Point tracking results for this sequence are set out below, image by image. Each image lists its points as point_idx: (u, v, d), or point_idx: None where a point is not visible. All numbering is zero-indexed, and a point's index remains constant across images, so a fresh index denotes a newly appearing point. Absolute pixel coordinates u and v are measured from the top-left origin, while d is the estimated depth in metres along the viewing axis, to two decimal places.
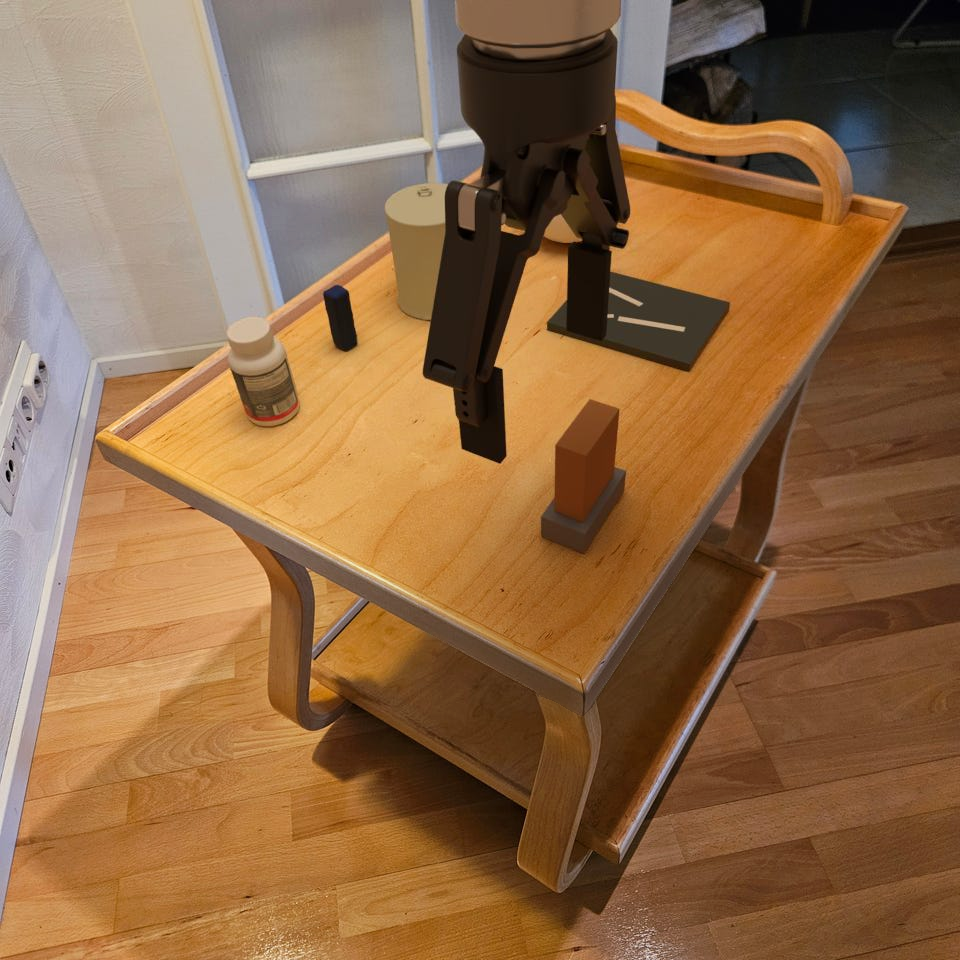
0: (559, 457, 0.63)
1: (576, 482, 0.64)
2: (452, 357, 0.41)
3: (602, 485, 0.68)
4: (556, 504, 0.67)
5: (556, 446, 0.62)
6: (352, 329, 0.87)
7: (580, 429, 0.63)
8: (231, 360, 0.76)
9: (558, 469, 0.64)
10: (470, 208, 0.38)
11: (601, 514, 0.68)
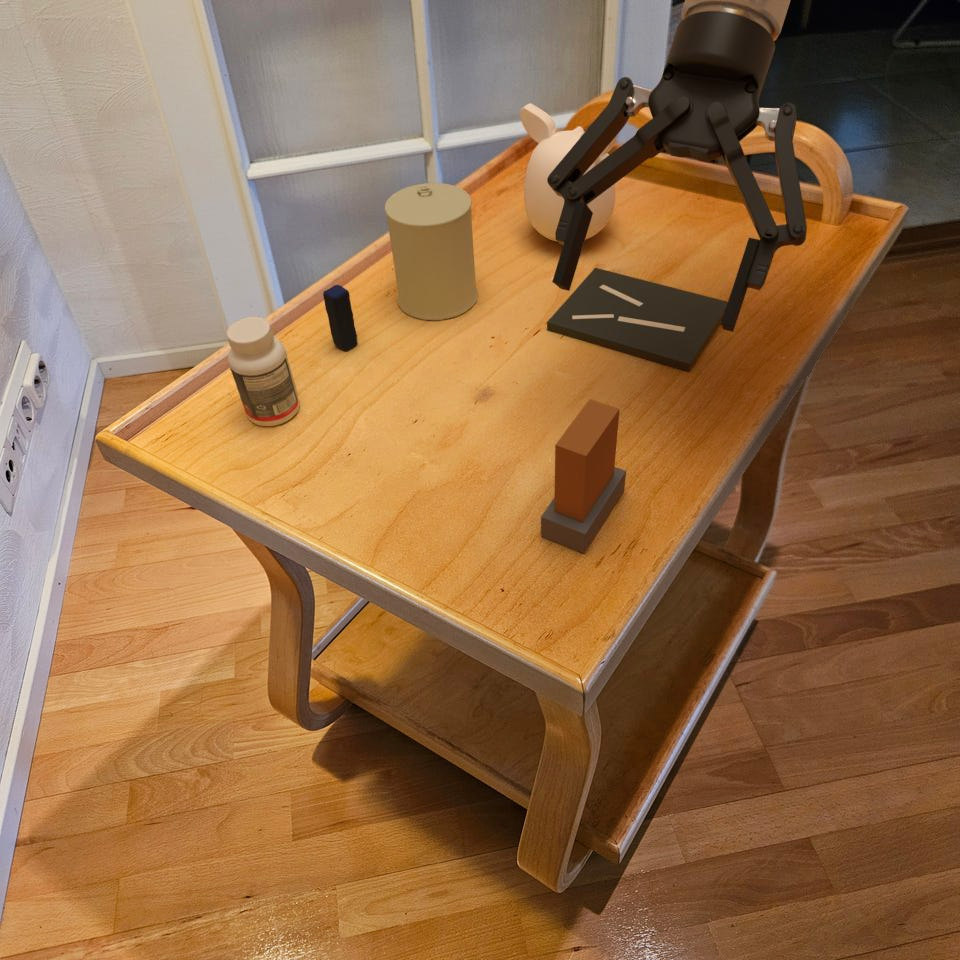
0: (559, 457, 0.63)
1: (576, 482, 0.64)
2: None
3: (602, 485, 0.68)
4: (556, 504, 0.67)
5: (556, 446, 0.62)
6: (352, 329, 0.87)
7: (580, 429, 0.63)
8: (231, 360, 0.76)
9: (558, 469, 0.64)
10: None
11: (601, 514, 0.68)
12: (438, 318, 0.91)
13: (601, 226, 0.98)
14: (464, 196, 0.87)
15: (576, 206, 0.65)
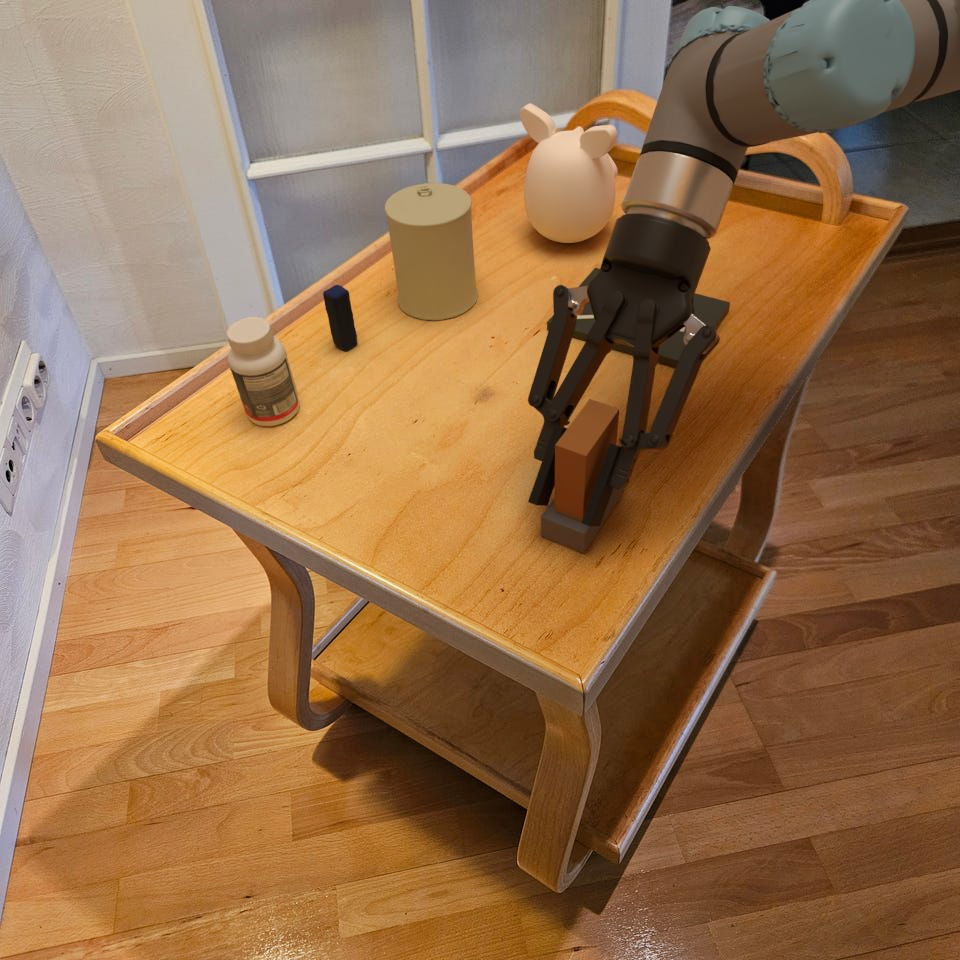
0: (559, 457, 0.63)
1: (576, 482, 0.64)
2: None
3: None
4: (556, 504, 0.67)
5: (556, 446, 0.62)
6: (352, 329, 0.87)
7: (580, 429, 0.63)
8: (231, 360, 0.76)
9: (558, 469, 0.64)
10: None
11: None
12: (438, 318, 0.91)
13: (601, 226, 0.98)
14: (464, 196, 0.87)
15: (554, 429, 0.65)
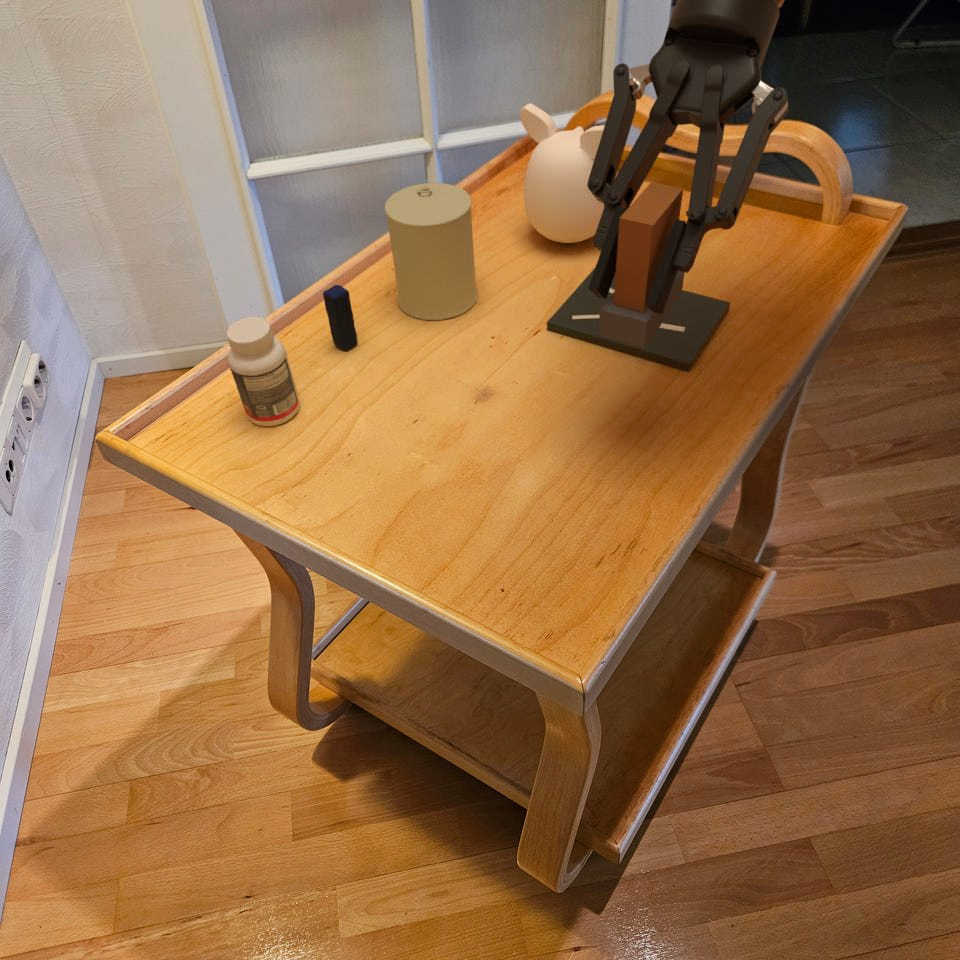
0: (623, 233, 0.61)
1: (640, 261, 0.62)
2: None
3: None
4: (616, 294, 0.65)
5: (620, 219, 0.60)
6: (352, 329, 0.87)
7: (644, 205, 0.61)
8: (231, 360, 0.76)
9: (621, 249, 0.62)
10: None
11: None
12: (438, 318, 0.91)
13: None
14: (464, 196, 0.87)
15: (616, 211, 0.63)
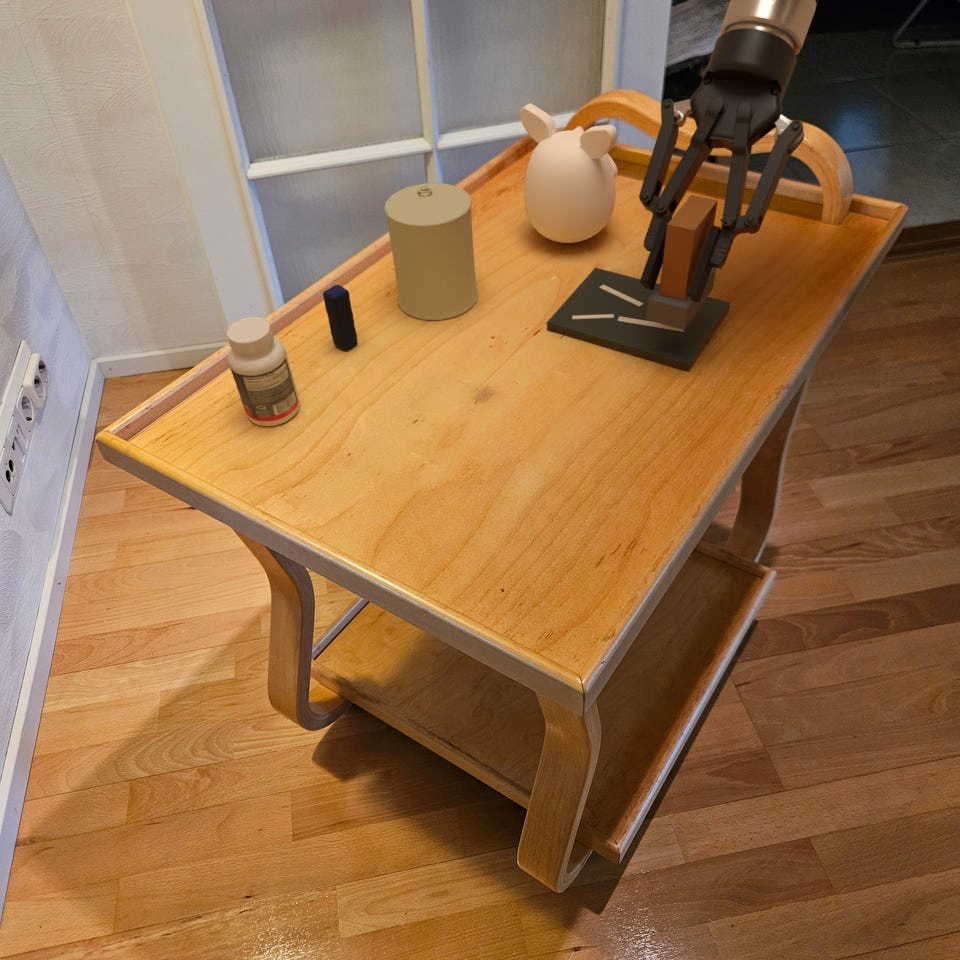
0: (669, 236, 0.75)
1: (683, 259, 0.76)
2: None
3: None
4: (662, 286, 0.79)
5: (668, 225, 0.75)
6: (352, 329, 0.87)
7: (686, 213, 0.76)
8: (231, 360, 0.76)
9: (667, 249, 0.76)
10: None
11: None
12: (438, 318, 0.91)
13: (601, 226, 0.98)
14: (464, 196, 0.87)
15: (663, 218, 0.77)
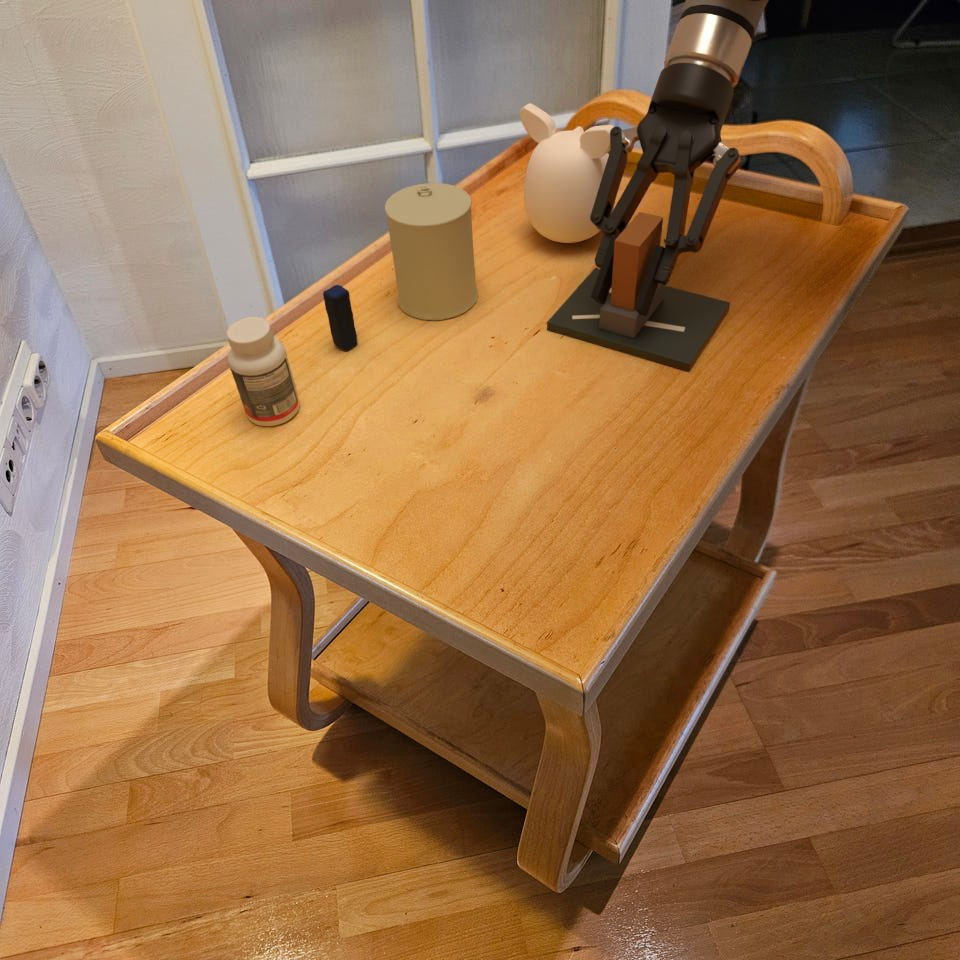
0: (617, 252, 0.81)
1: (630, 273, 0.82)
2: None
3: None
4: (612, 297, 0.85)
5: (615, 241, 0.80)
6: (352, 329, 0.87)
7: (633, 230, 0.81)
8: (231, 360, 0.76)
9: (616, 263, 0.82)
10: None
11: None
12: (438, 318, 0.91)
13: None
14: (464, 196, 0.87)
15: (612, 238, 0.83)
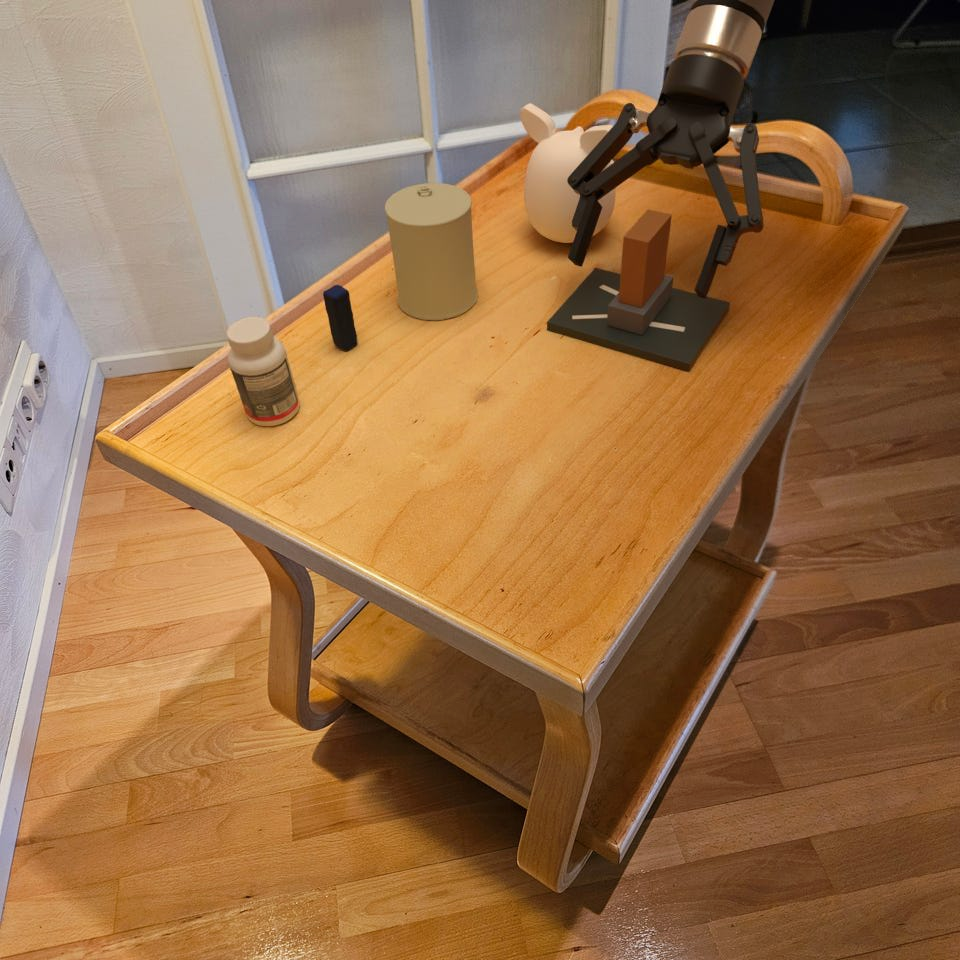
0: (626, 248, 0.81)
1: (638, 269, 0.82)
2: None
3: (656, 282, 0.86)
4: (620, 294, 0.85)
5: (624, 237, 0.80)
6: (352, 329, 0.87)
7: (641, 227, 0.81)
8: (231, 360, 0.76)
9: (624, 259, 0.82)
10: None
11: (655, 305, 0.86)
12: (438, 318, 0.91)
13: (601, 226, 0.98)
14: (464, 196, 0.87)
15: (588, 200, 0.85)
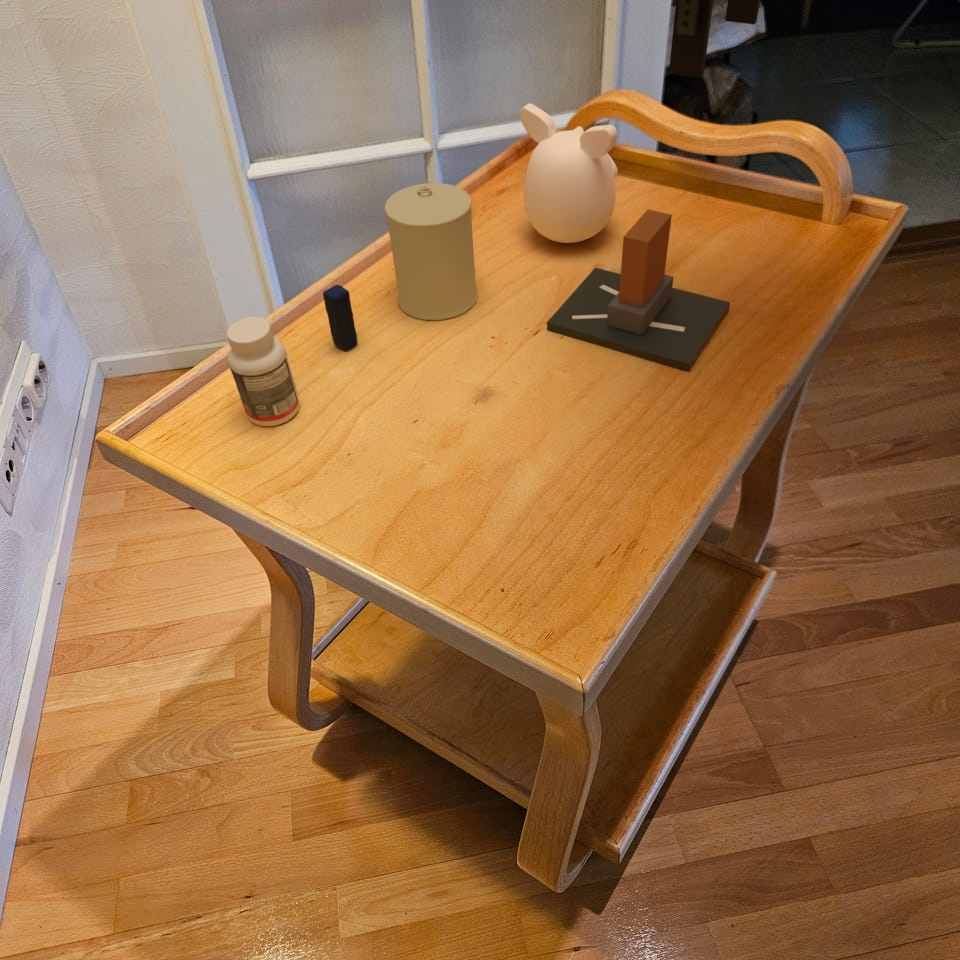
0: (626, 248, 0.81)
1: (638, 269, 0.82)
2: None
3: (656, 282, 0.86)
4: (620, 294, 0.85)
5: (624, 237, 0.80)
6: (352, 329, 0.87)
7: (641, 227, 0.81)
8: (231, 360, 0.76)
9: (624, 259, 0.82)
10: None
11: (655, 305, 0.86)
12: (438, 318, 0.91)
13: (601, 226, 0.98)
14: (464, 196, 0.87)
15: None
